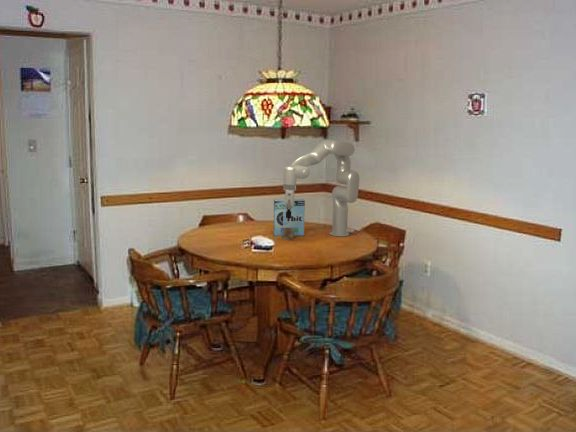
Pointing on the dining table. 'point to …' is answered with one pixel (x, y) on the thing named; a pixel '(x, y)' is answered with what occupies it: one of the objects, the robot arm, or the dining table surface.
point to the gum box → (293, 222)
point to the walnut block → (288, 234)
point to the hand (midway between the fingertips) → (288, 217)
